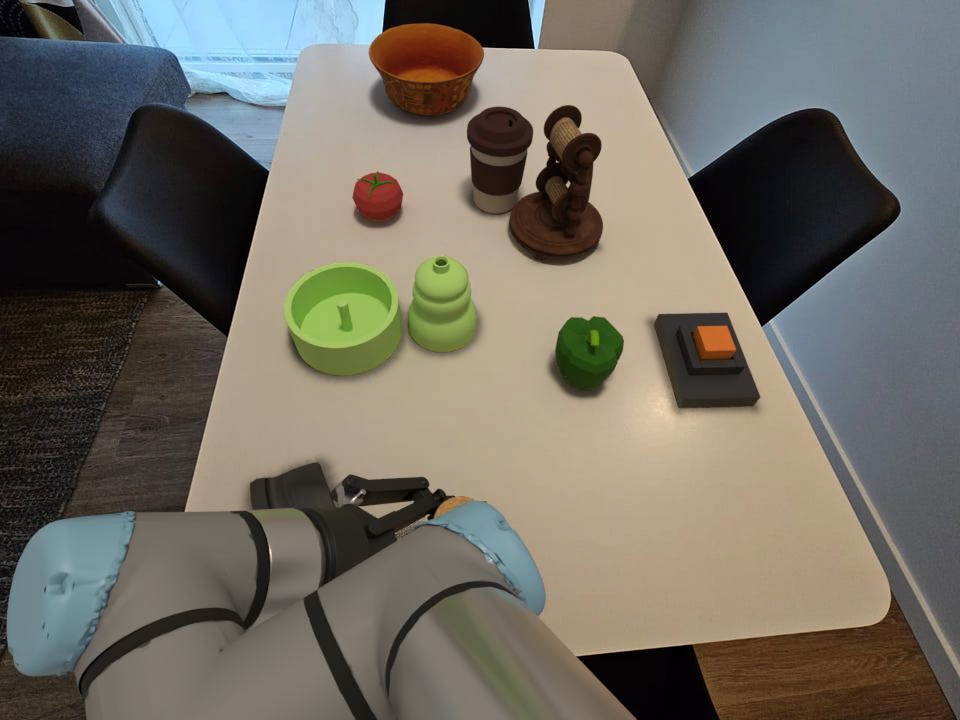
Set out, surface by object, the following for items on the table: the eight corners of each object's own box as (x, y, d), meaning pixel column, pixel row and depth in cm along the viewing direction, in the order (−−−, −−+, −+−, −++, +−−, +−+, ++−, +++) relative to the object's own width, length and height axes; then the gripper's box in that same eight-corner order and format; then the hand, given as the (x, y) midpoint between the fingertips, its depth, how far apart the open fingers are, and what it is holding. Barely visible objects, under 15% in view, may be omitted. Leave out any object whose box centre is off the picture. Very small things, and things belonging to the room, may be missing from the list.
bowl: (492, 81, 117) (495, 30, 109) (467, 140, 105) (468, 88, 97) (395, 65, 119) (390, 14, 111) (360, 122, 107) (352, 69, 99)
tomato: (348, 223, 91) (340, 184, 85) (366, 193, 96) (360, 154, 89) (395, 234, 90) (390, 195, 84) (411, 203, 95) (408, 164, 88)
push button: (753, 405, 74) (767, 389, 71) (678, 408, 74) (689, 391, 70) (721, 322, 82) (732, 304, 79) (653, 323, 82) (662, 305, 78)
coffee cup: (453, 204, 95) (453, 121, 82) (487, 174, 100) (492, 92, 87) (503, 228, 92) (510, 147, 80) (535, 196, 97) (547, 115, 84)
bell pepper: (563, 338, 79) (576, 290, 71) (619, 361, 77) (638, 315, 69) (539, 382, 75) (549, 336, 67) (597, 408, 73) (615, 364, 65)
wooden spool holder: (615, 255, 89) (650, 142, 73) (527, 274, 86) (543, 160, 70) (577, 196, 97) (602, 82, 81) (496, 211, 94) (504, 96, 78)
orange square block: (730, 359, 74) (736, 350, 72) (700, 360, 74) (706, 350, 72) (721, 335, 76) (727, 325, 75) (692, 335, 76) (697, 326, 74)
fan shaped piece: (275, 604, 58) (270, 600, 57) (250, 488, 65) (246, 482, 64) (354, 571, 60) (351, 567, 59) (322, 462, 67) (319, 456, 66)
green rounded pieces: (291, 379, 74) (265, 318, 64) (298, 295, 82) (276, 229, 72) (482, 365, 76) (486, 303, 66) (470, 284, 85) (472, 219, 74)
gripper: (240, 478, 46) (433, 480, 64) (301, 729, 36) (509, 650, 54) (289, 423, 43) (478, 441, 61) (370, 680, 34) (566, 613, 51)
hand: (492, 540), depth 58 cm, fingers closed on bottle, 6 cm apart
